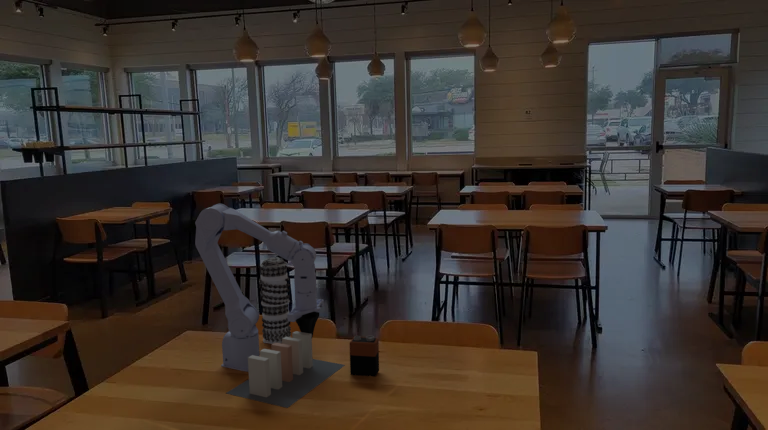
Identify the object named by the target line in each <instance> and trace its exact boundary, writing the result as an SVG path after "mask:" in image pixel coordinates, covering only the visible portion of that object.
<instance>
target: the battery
mask: <svg viewBox="0 0 768 430" xmlns="http://www.w3.org/2000/svg"><path fill="white" fill-rule="evenodd" d="M379 345H380V344H379V338H378V337H375V336H374V335H366V336H365V337H363V336H361V335H355V336H353V338H352V339H351V340H350V342H349V369H350V370H349V371H350V372H349V373H350V375H351V376H357V377H358V376H360V377H373V378H374V377H377V376H378V373H379V371H380V358H379V357H380V355H379V353H380V352H379V351H380V350H379V349H380V346H379Z"/></svg>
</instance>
